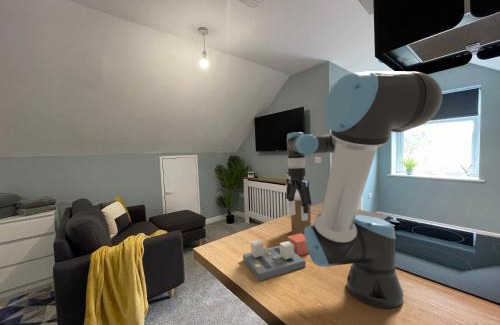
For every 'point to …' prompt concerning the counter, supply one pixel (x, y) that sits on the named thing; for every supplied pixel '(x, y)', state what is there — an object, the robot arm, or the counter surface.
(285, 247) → the block
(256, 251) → the block
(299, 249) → the cap
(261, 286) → the counter surface
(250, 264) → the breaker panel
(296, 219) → the wooden block
